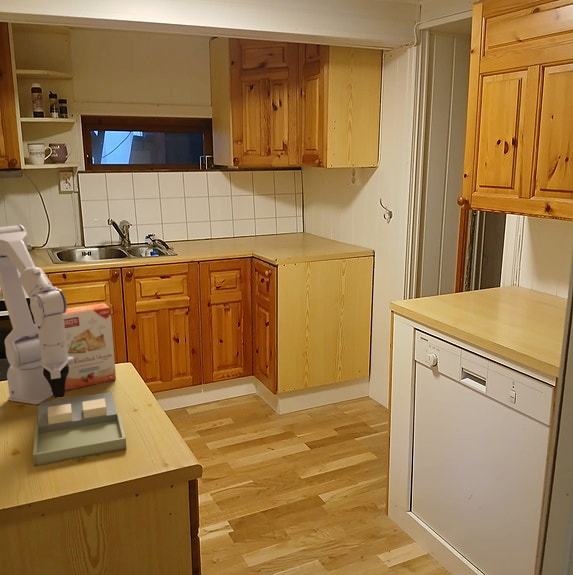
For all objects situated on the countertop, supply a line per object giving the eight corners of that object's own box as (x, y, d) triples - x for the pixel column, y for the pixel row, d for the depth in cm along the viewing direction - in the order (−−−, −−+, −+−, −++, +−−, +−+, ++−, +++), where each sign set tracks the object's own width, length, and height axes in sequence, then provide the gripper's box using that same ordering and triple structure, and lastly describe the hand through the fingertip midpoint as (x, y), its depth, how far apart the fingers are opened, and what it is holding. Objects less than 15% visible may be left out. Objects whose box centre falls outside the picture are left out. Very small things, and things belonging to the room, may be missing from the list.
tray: (36, 435, 130) (35, 425, 130) (120, 421, 137) (119, 411, 136) (34, 466, 118) (32, 455, 117) (126, 449, 124) (125, 438, 124)
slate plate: (40, 410, 143) (39, 403, 142) (112, 399, 149) (112, 391, 148) (38, 435, 131) (37, 427, 130) (117, 421, 136) (117, 414, 136)
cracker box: (63, 392, 153) (55, 315, 148) (59, 384, 158) (50, 309, 153) (117, 380, 160) (110, 306, 155) (111, 373, 165) (104, 301, 160)
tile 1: (48, 415, 136) (47, 407, 135) (71, 411, 138) (70, 403, 137) (48, 424, 131) (47, 416, 131) (72, 420, 133) (71, 412, 133)
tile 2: (83, 409, 138) (82, 401, 138) (105, 406, 140) (104, 398, 140) (84, 418, 134) (83, 410, 133) (106, 414, 136) (106, 406, 135)
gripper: (71, 349, 131) (78, 405, 134) (70, 331, 144) (76, 382, 148) (37, 353, 129) (45, 411, 132) (39, 334, 142) (45, 387, 145)
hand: (59, 396), depth 140 cm, fingers closed
